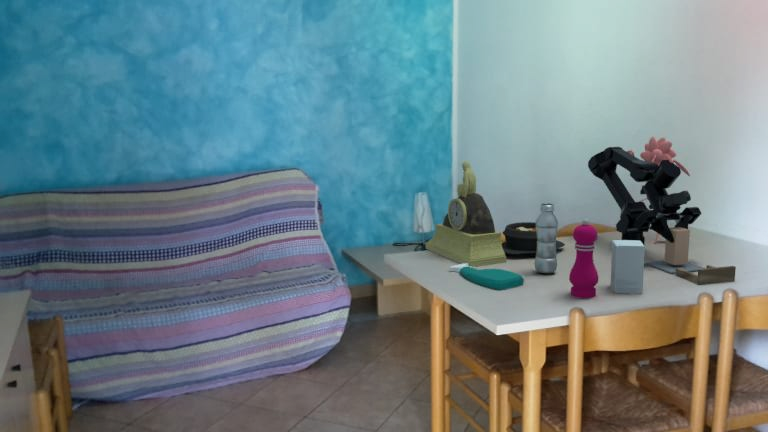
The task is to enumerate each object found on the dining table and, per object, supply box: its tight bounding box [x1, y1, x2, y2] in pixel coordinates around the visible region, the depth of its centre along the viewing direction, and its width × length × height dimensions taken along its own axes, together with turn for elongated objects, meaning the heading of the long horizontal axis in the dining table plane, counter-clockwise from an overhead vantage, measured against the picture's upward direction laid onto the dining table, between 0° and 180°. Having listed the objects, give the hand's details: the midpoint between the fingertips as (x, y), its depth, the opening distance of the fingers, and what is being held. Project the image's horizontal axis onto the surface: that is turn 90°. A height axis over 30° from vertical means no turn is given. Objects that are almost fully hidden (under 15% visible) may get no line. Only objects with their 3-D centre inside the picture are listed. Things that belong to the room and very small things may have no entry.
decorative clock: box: [425, 160, 507, 268], centre depth 222 cm, size 28×13×30 cm, turn 25°
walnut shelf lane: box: [675, 264, 737, 286], centre depth 193 cm, size 10×11×4 cm
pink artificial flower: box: [625, 136, 691, 244], centre depth 239 cm, size 15×26×35 cm, turn 36°
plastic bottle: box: [533, 202, 559, 274], centre depth 201 cm, size 6×7×20 cm
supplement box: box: [610, 239, 646, 295], centre depth 184 cm, size 7×7×13 cm
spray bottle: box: [449, 263, 525, 291], centre depth 199 cm, size 3×11×24 cm
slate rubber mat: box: [644, 260, 706, 275], centre depth 205 cm, size 12×12×1 cm
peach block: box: [663, 227, 691, 265], centre depth 204 cm, size 4×4×10 cm
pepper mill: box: [568, 218, 599, 299], centre depth 179 cm, size 7×7×20 cm
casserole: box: [501, 221, 566, 257], centre depth 227 cm, size 25×19×8 cm
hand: (680, 241), depth 203 cm, fingers closed on peach block, 4 cm apart
